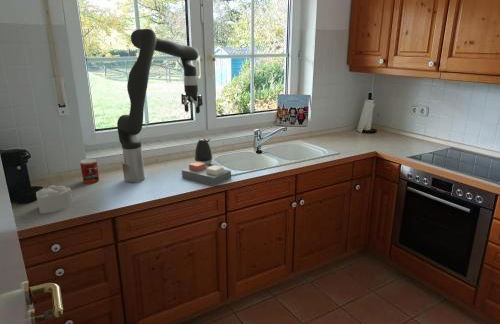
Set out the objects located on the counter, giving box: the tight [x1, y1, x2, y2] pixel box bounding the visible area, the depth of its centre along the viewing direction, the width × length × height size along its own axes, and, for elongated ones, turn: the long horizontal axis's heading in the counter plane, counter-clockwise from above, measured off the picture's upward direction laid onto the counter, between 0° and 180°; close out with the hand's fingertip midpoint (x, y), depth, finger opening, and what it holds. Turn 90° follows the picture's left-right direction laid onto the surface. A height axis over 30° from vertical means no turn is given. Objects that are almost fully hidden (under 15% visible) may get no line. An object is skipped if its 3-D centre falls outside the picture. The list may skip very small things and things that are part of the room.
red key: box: [188, 161, 206, 171], centre depth 192 cm, size 6×6×4 cm
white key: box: [207, 164, 224, 176], centre depth 185 cm, size 6×6×4 cm
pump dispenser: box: [194, 138, 213, 166], centre depth 209 cm, size 10×10×15 cm
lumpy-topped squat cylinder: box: [35, 185, 74, 214], centre depth 156 cm, size 10×13×9 cm
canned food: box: [79, 158, 100, 185], centre depth 185 cm, size 8×8×11 cm
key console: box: [181, 165, 232, 186], centre depth 189 cm, size 13×22×4 cm, turn 55°
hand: (192, 112), depth 214 cm, fingers open, 8 cm apart
